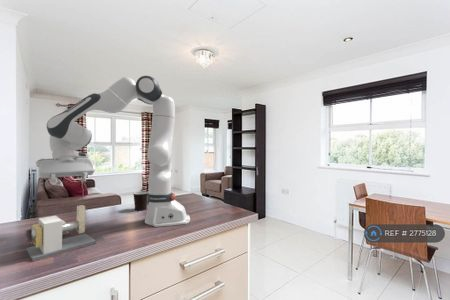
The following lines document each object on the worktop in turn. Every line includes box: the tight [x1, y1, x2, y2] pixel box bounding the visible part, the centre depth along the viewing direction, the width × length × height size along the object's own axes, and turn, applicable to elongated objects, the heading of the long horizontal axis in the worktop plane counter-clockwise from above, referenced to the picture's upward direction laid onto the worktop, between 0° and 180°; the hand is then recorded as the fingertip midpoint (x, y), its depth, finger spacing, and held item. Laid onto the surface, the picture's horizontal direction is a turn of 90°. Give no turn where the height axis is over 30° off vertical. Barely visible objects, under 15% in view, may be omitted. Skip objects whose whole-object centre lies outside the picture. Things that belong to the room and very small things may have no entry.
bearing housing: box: [26, 215, 97, 262], centre depth 81 cm, size 18×11×11 cm, turn 139°
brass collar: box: [31, 223, 42, 248], centre depth 75 cm, size 2×6×6 cm, turn 50°
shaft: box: [31, 204, 86, 240], centre depth 80 cm, size 15×3×10 cm, turn 139°
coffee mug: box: [133, 191, 148, 212], centre depth 131 cm, size 12×9×10 cm
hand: (71, 182), depth 93 cm, fingers open, 8 cm apart
